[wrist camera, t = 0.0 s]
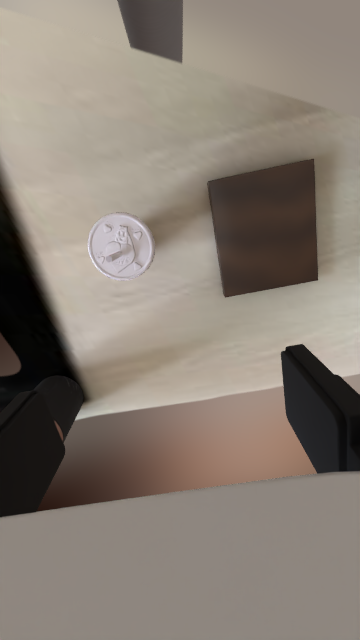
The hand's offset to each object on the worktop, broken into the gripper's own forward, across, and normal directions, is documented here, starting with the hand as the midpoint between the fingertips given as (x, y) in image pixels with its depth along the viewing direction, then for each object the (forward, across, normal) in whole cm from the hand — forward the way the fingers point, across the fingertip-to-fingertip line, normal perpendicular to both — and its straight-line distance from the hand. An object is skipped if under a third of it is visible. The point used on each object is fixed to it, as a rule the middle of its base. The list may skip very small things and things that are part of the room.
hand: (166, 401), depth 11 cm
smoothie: (+28, +4, -5) cm, 29 cm away
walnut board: (+28, -12, -3) cm, 30 cm away
